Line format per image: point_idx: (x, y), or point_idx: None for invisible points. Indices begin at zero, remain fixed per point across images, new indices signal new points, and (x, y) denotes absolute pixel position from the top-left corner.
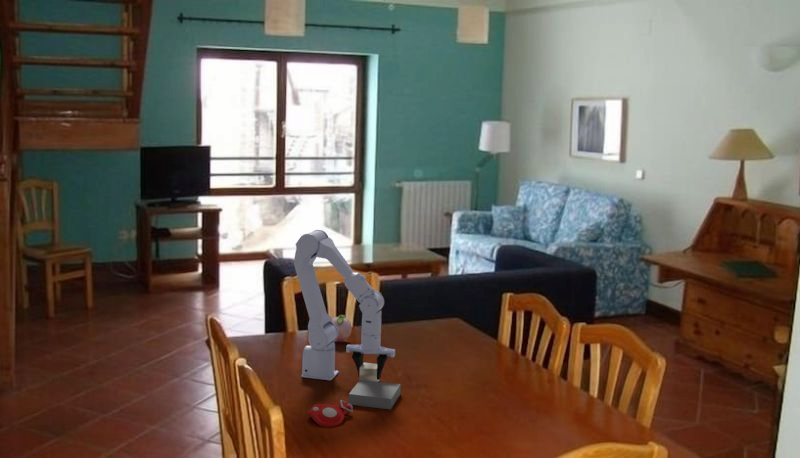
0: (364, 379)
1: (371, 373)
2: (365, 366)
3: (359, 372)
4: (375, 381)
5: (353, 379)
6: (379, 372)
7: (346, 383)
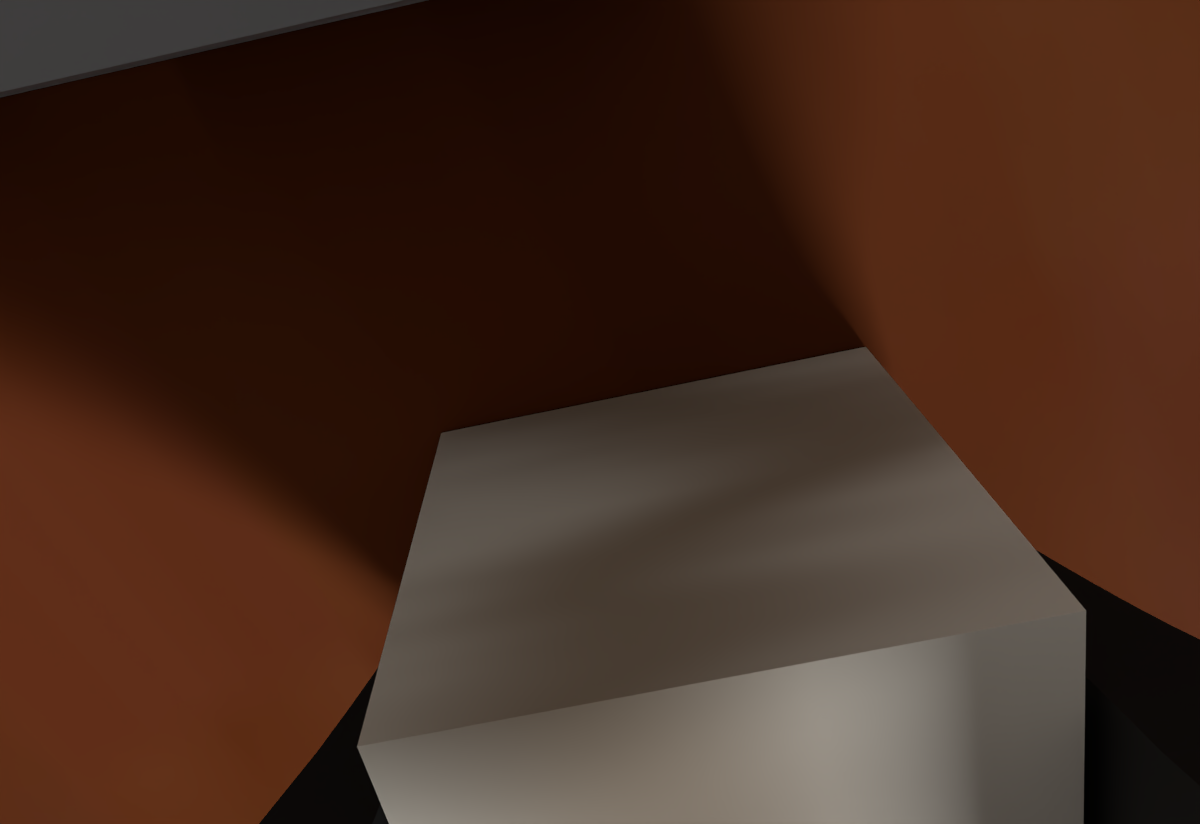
0: (754, 433)
1: (549, 591)
2: (900, 816)
3: None
4: (61, 66)
5: (1093, 533)
6: (326, 752)
7: (1192, 211)
